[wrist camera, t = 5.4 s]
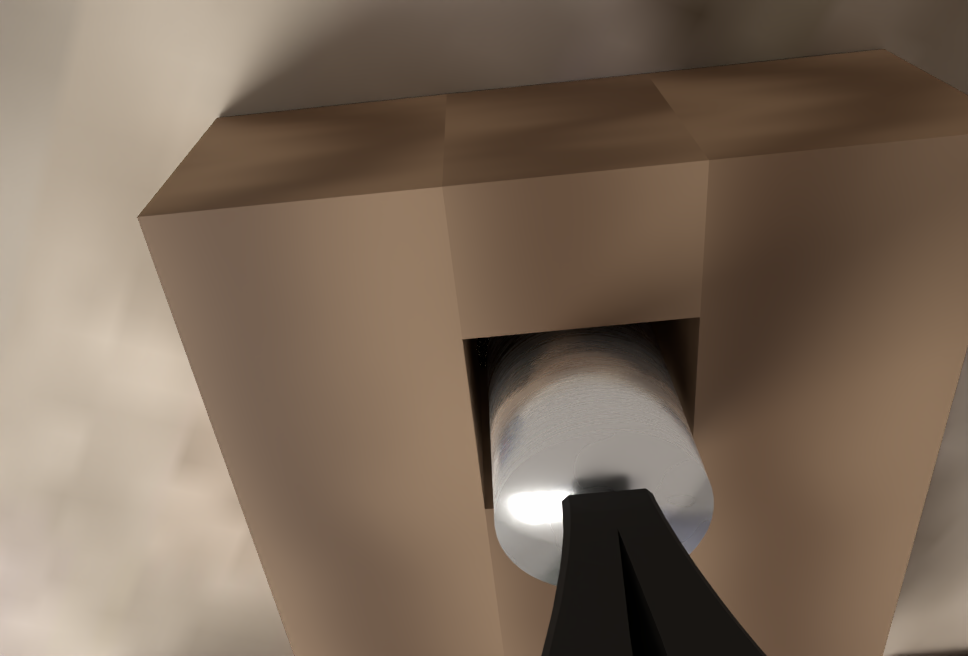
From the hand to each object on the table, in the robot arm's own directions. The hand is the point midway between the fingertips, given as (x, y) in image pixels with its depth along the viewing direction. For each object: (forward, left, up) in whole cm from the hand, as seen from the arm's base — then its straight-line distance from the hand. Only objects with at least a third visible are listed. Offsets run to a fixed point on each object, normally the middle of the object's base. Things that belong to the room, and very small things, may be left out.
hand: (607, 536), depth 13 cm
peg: (0, 0, -5) cm, 5 cm away
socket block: (0, +5, -8) cm, 9 cm away
